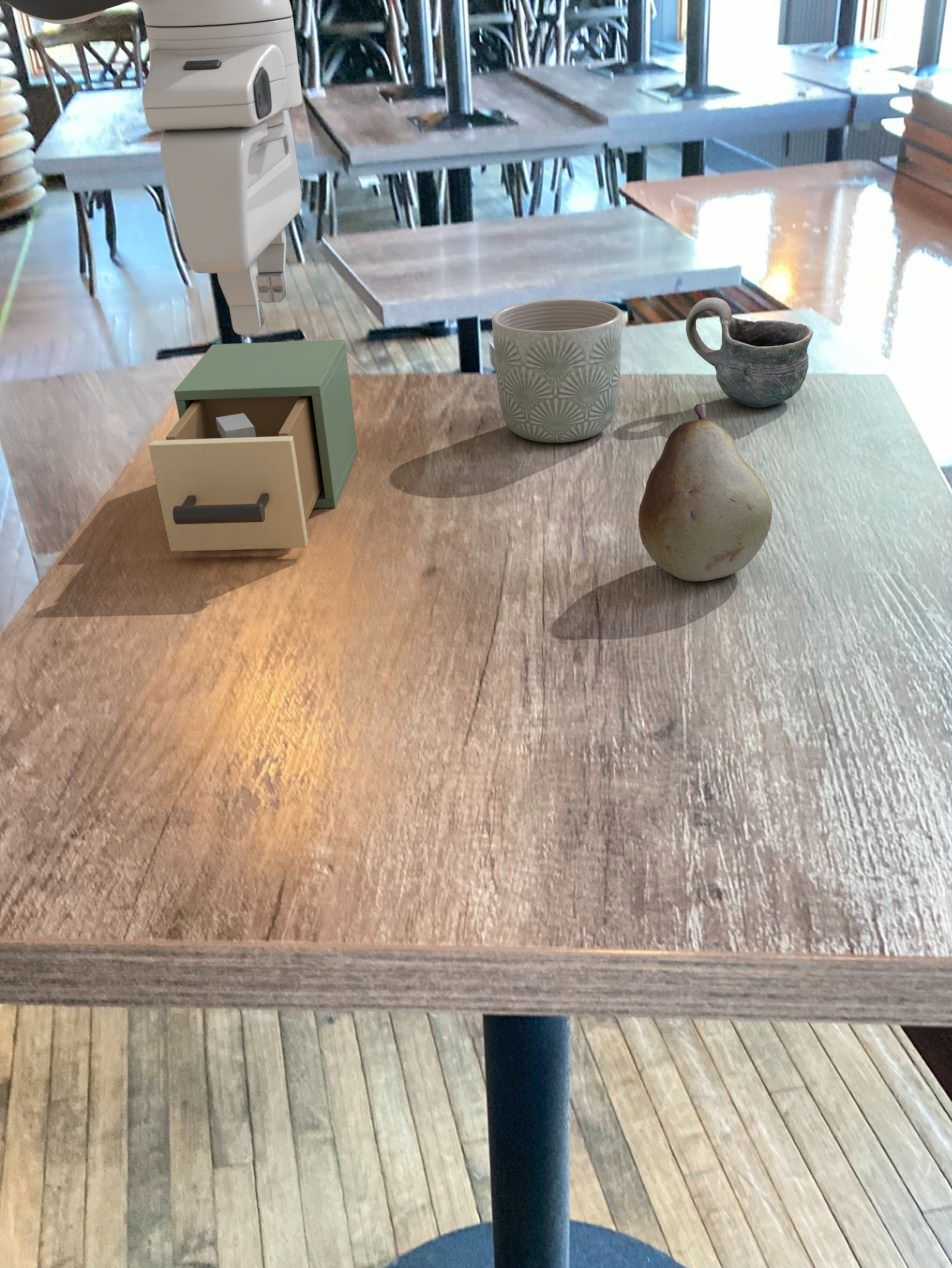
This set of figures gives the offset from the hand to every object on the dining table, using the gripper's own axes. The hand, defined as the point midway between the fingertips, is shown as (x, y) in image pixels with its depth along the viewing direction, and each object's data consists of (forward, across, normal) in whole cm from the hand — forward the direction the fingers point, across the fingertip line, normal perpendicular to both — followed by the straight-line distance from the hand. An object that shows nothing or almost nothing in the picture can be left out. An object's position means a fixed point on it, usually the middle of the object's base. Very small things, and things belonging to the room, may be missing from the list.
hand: (262, 315), depth 90 cm
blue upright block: (+19, -14, -7) cm, 25 cm away
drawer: (+20, -13, -7) cm, 25 cm away
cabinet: (+21, -27, -7) cm, 35 cm away
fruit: (+21, -4, +31) cm, 38 cm away
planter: (+21, -39, +19) cm, 48 cm away
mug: (+21, -46, +38) cm, 63 cm away
